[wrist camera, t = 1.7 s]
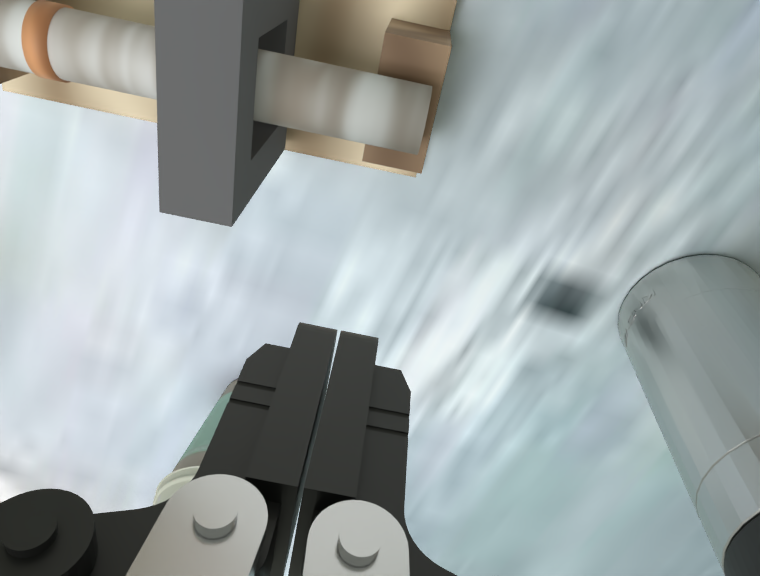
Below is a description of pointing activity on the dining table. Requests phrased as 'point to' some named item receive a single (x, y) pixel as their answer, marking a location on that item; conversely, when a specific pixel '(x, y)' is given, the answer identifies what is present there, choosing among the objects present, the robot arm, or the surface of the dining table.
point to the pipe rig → (274, 70)
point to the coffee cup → (193, 452)
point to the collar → (215, 102)
